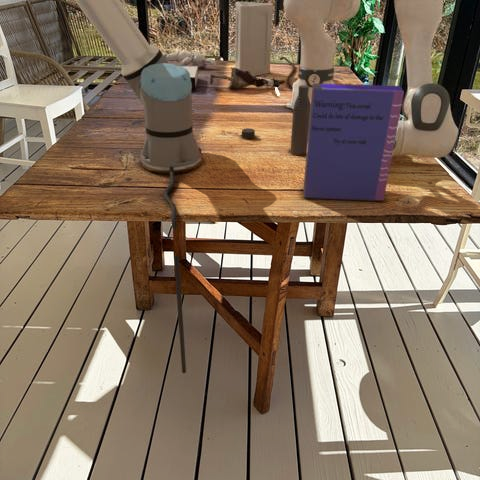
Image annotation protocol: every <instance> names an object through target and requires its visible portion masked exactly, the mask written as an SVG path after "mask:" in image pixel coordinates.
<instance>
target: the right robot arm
mask: <svg viewBox="0 0 480 480" xmlns="http://www.w3.org/2000/svg"><path fill="white" fill-rule="evenodd" d="M361 2H362V1H361V0H284V7H283V11H284V13H285V16H286V17H287V18H288V19H289V21H290V22H292V24H293V25H294V26H295V28H296V29H297V31H298V35H299V39H300V61H299V62H300V65H298V69H297V80H295V81H294V82H293V84H291V83H290V79H291V77H292V76H293V74H294V73H295V70H296V65H295V64H294V63H293V62H292V61H290V60H289V59H288V58H287V57H285V56H281V57H279V61H282V60H285V61H286V62H287V63H288V64H290V65H291V66H292V70H291V72H290V74H289V75H288V76H287V79H286V83H287V85H288V87H289V88H290V89H291V90H292V91H291V100H289V101H288V102H286V104H285V107H286V108H288V109H292V110H293V107H294V103H295V101H296V99H297V96H298V92H299V89H298V88H299V86H300V85H307V86H309V92H308V97H309V99H310V104H311V98H312V87H313V84H335V82H334V80H333V79H334V75H335V67H334V64H335V53H336V43H335V41H334V39H333V38H332V37H331V36H330V35H328V34H326V32H325V29H324V23H334V22H337V23H338V22H342V21H346V20H350V19H353V18H354V17H355V16H356V15H357V13H358V12H359V10H360V7H361ZM393 3H394V10H395V16H396V21H397V25H398V28H399V32H400V36H401V41H402V44H403V48H404V56H405V70H406V87H407V88H406V92H405V95H404V97H403V100H402V105H401V111H402V116H403V118H404V119H405V120H402V119H401V120H400V119H399V121H398V127H397V132H396V137H395V142H394V148H393V153H392V157H394V156H404V155H405V156H407V155H409V156H412V157H415V158H424V159H425V158H426V159H427V158H428V159H429V158H430V159H436V158H437V159H438V158H444V157H447V156H448V155H450V154H451V153H452V151H453V149H455V146H456V144H457V141H458V138H459V128H458V127H457V125H456V123H455V120H454V118H453V115H452V110H451V109H452V108H451V99H450V98H451V97H450V94H449V92H448V90H447V89H446V88H445V87H444V86H442V85H441V84H438V83H434V81H433V63H432V46H433V41H434V38H435V35H436V33H437V30H438V28H439V25H440V23H441V21H442V18H443V17H442V16H443V10H444V0H393ZM275 92H276V94H277V96H278V97H279V96H280V92H279V89H278V88H277V87H275Z"/></svg>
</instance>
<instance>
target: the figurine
mask: <svg viewBox="0 0 480 480" xmlns="http://www.w3.org/2000/svg"><path fill="white" fill-rule="evenodd" d="M230 69H231V72H230V73H231V74H230V76H229V75H225V74H213V73H211V74H210V78H209V85H212V84H213V83H214V79H215V78H216V79H223V80H227V81H229V84H228V88H229V89H241V88H247V87H249V86H255V87H256V88H262V87H268V88H271V89H273V88H277V89H278V88H280V86H281V85H284V84H286V83H287V79H286V80H285V79H275V78H274V77H272V78H265V77H262V78H261V77H257V76H252V75H251V73H250V72H249V71H245V72H244V71H242V70H240V69H237V68H235V67H232V66H231V67H230Z"/></svg>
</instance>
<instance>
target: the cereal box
mask: <svg viewBox="0 0 480 480" xmlns="http://www.w3.org/2000/svg"><path fill="white" fill-rule="evenodd" d="M404 94H405V91H404V90H403V88H402V87H401V86H399V85H380V84H379V85H377V84H376V85H375V84H344V83H343V84H341V83H334V84H313V87H312V98H311V109H310V120H309V131H308V142H307V153H306V154H305V165H304V177H303V188H302V189H303V190H302V191H303V197H304V199H317V200H343V201H344V200H345V201H346V200H347V201H366V202H367V201H368V202H369V201H370V202H384V201H385V195H386V190H387V184H388V178H389V174H390V168H391V164H392V158H393V156H392V153H393V148H394V142H395V137H396V132H397V127H398V121H399V120H400V115H401V111H402V105H403V101H404V96H405V95H404Z"/></svg>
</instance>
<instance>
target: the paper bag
mask: <svg viewBox="0 0 480 480" xmlns="http://www.w3.org/2000/svg"><path fill="white" fill-rule="evenodd" d="M273 8H274V4H273V3H269V2H267V3H266V2H265V3H264V2H252V1H235V59H234V60H235V62H234V63H235V65H234V66H235V67H234V68H237V69H240V70H242V71H244V72H245V71H249V72H250V73H251V75H252V76H256V77H257V76H259V75H260V76H261V75H266V74H270V73H271V56H272V55H271V54H272V33H273V32H272V31H273V10H274V9H273Z"/></svg>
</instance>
